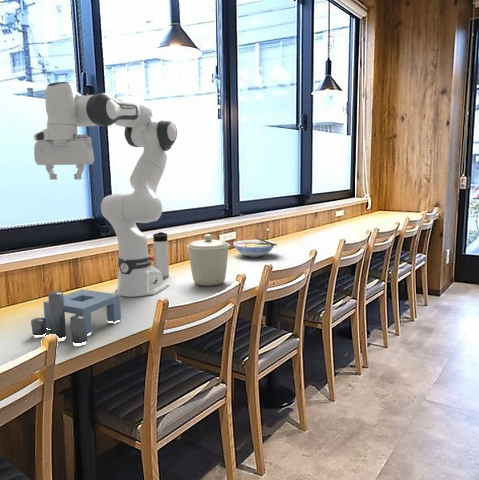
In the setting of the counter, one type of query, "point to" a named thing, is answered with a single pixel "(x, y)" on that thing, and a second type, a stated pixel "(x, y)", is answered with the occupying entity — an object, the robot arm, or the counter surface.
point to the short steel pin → (38, 326)
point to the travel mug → (161, 253)
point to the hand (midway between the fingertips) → (65, 179)
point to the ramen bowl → (254, 247)
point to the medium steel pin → (78, 328)
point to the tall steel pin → (57, 313)
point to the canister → (208, 260)
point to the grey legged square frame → (88, 306)
